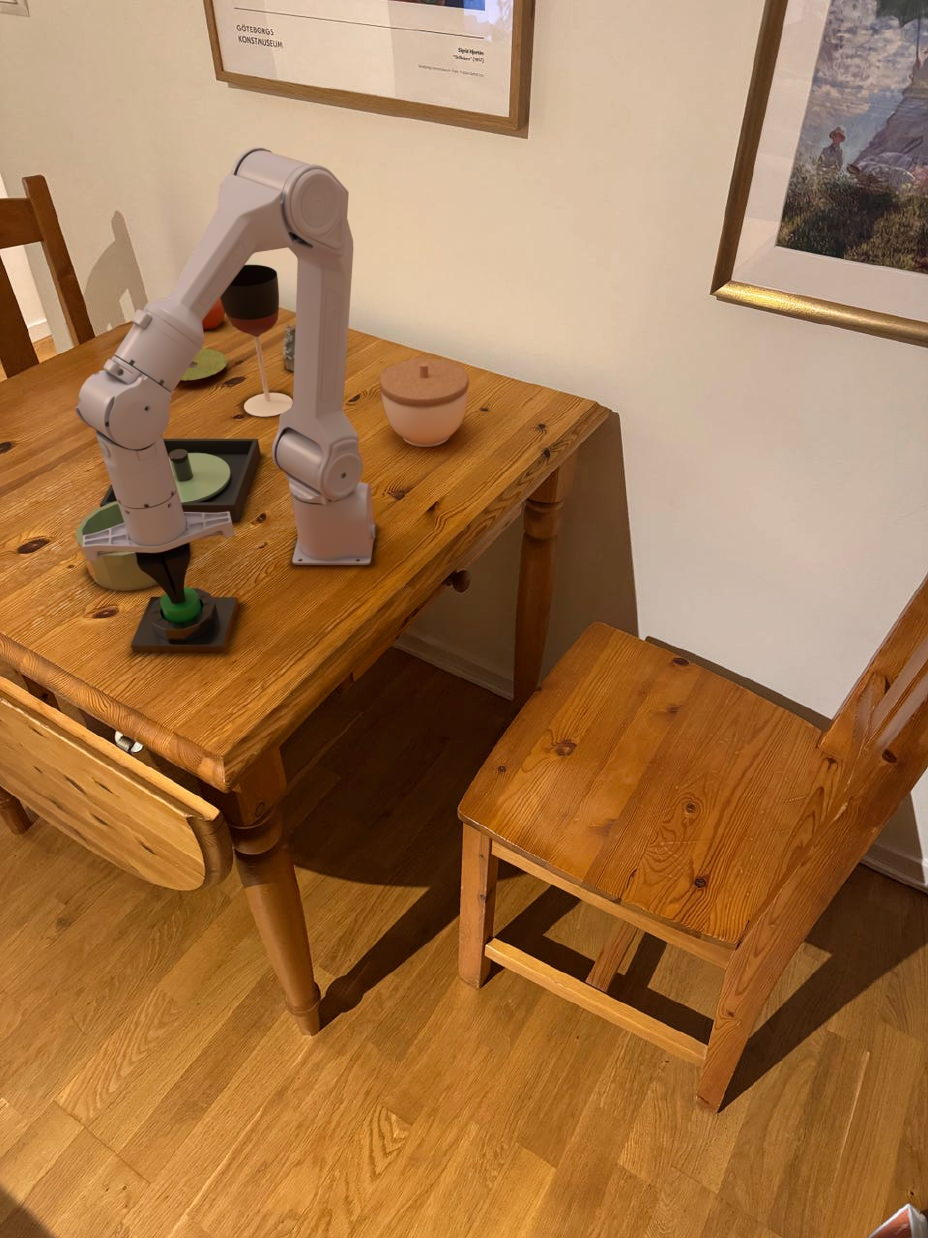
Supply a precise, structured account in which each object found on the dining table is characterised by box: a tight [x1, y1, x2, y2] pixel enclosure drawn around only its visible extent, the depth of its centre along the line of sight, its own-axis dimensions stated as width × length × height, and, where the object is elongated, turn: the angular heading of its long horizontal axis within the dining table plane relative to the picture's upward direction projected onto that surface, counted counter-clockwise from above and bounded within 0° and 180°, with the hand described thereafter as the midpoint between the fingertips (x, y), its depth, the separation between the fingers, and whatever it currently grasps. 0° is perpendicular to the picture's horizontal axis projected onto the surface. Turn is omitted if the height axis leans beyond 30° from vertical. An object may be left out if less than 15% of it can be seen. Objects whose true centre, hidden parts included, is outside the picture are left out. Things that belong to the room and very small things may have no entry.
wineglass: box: [220, 264, 293, 417], centre depth 127 cm, size 8×9×20 cm
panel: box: [130, 587, 240, 654], centre depth 96 cm, size 10×8×3 cm
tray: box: [99, 438, 262, 523], centre depth 116 cm, size 17×16×3 cm
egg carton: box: [282, 323, 296, 372], centre depth 144 cm, size 11×8×4 cm
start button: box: [160, 586, 201, 622], centre depth 94 cm, size 4×4×2 cm
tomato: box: [202, 298, 226, 330], centre depth 153 cm, size 7×7×8 cm
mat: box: [180, 347, 228, 382], centre depth 141 cm, size 11×11×2 cm
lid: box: [168, 449, 231, 502], centre depth 115 cm, size 12×12×5 cm
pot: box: [75, 501, 159, 592], centre depth 104 cm, size 11×11×5 cm
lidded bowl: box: [378, 357, 470, 448], centre depth 123 cm, size 13×13×11 cm
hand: (178, 597), depth 93 cm, fingers closed
